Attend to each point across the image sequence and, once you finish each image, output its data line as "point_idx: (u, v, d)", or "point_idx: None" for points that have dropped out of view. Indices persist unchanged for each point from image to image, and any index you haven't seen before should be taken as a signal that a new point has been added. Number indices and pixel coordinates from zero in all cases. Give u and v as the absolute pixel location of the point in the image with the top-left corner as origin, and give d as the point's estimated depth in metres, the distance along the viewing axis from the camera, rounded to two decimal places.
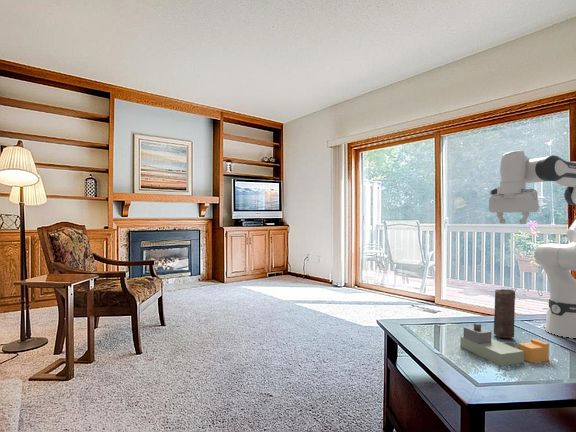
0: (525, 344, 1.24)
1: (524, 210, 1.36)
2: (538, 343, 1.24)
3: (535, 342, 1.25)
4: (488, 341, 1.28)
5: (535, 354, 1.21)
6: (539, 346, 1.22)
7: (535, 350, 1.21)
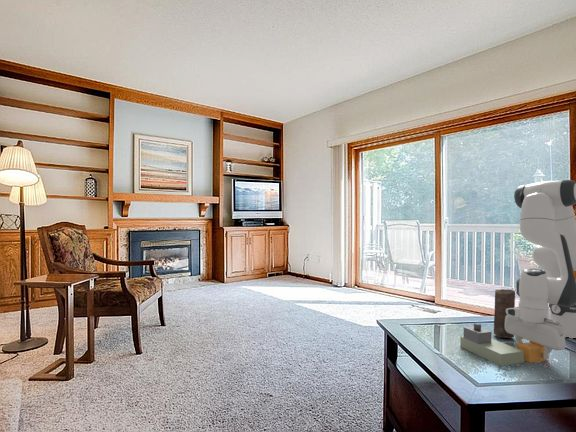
0: (524, 344, 1.24)
1: (548, 345, 1.17)
2: None
3: (534, 342, 1.25)
4: (488, 341, 1.28)
5: (534, 354, 1.21)
6: (538, 346, 1.22)
7: (534, 350, 1.21)
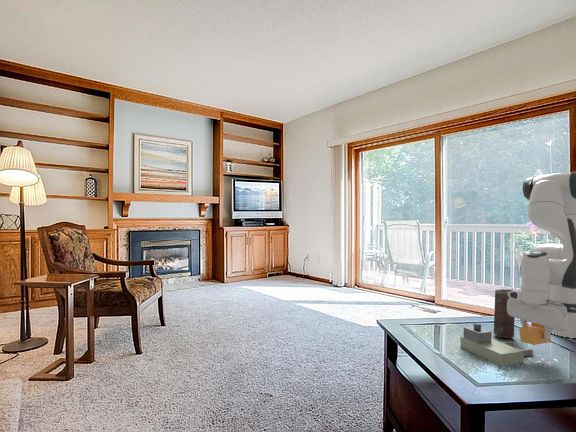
0: (526, 327, 1.24)
1: (551, 327, 1.17)
2: (538, 325, 1.24)
3: (535, 325, 1.25)
4: (488, 341, 1.28)
5: (537, 335, 1.21)
6: (540, 327, 1.23)
7: (536, 331, 1.21)
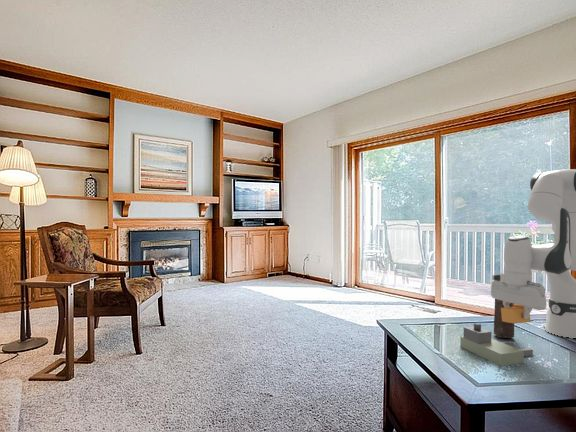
0: (507, 308, 1.31)
1: (530, 306, 1.24)
2: (519, 306, 1.31)
3: (516, 306, 1.32)
4: (488, 341, 1.28)
5: (517, 315, 1.27)
6: (520, 308, 1.29)
7: (516, 311, 1.28)
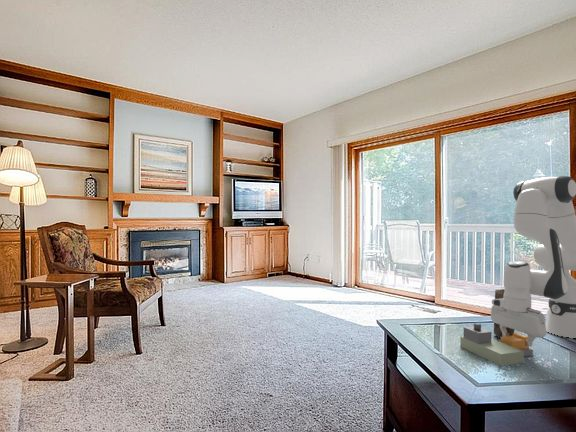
0: (507, 337, 1.31)
1: (530, 333, 1.24)
2: (519, 336, 1.31)
3: (516, 335, 1.32)
4: (488, 341, 1.28)
5: (516, 346, 1.28)
6: (520, 339, 1.29)
7: (516, 343, 1.28)
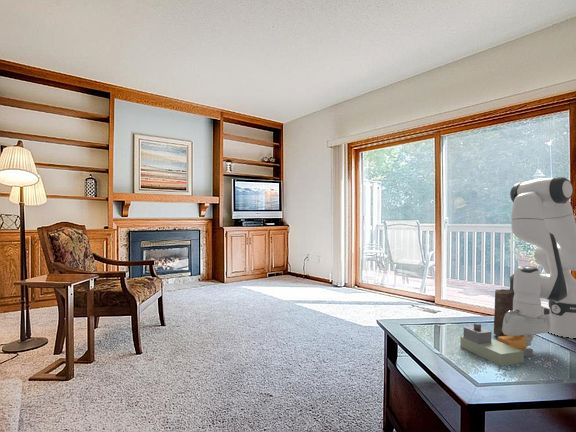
0: (504, 337, 1.31)
1: None
2: (516, 336, 1.31)
3: None
4: (488, 341, 1.28)
5: (513, 346, 1.27)
6: (517, 339, 1.29)
7: (513, 343, 1.27)
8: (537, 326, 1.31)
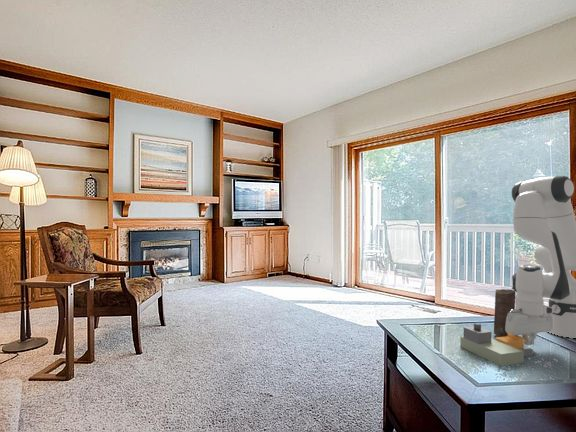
0: (501, 338, 1.30)
1: None
2: (514, 337, 1.30)
3: (511, 336, 1.31)
4: (488, 341, 1.28)
5: None
6: (514, 340, 1.29)
7: (510, 344, 1.27)
8: (540, 324, 1.31)
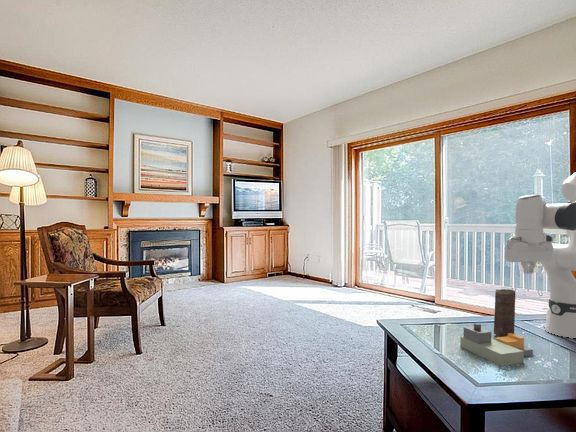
0: (501, 338, 1.30)
1: None
2: (514, 337, 1.30)
3: (511, 336, 1.31)
4: (488, 341, 1.28)
5: None
6: (514, 340, 1.29)
7: (510, 344, 1.27)
8: (540, 253, 1.32)
